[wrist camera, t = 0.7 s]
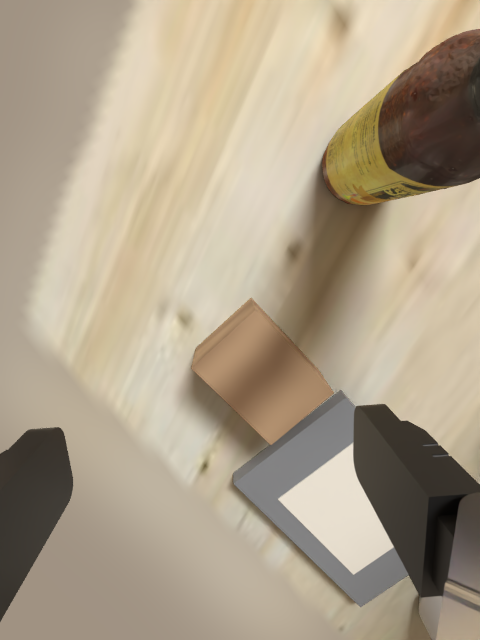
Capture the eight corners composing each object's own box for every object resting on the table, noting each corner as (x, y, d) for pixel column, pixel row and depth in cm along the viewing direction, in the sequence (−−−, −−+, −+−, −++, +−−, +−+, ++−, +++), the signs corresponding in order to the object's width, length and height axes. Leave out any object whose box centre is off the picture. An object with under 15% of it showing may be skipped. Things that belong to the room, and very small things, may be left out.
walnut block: (317, 368, 33) (334, 393, 28) (264, 414, 34) (271, 445, 29) (251, 297, 31) (255, 309, 26) (196, 347, 32) (191, 368, 27)
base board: (456, 524, 37) (466, 537, 36) (355, 593, 39) (360, 608, 37) (340, 389, 33) (346, 397, 32) (233, 473, 35) (233, 484, 33)
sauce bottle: (340, 221, 29) (556, 205, 10) (305, 148, 28) (479, -29, 9) (413, 178, 29) (788, 77, 10) (381, 102, 27) (746, -196, 8)
